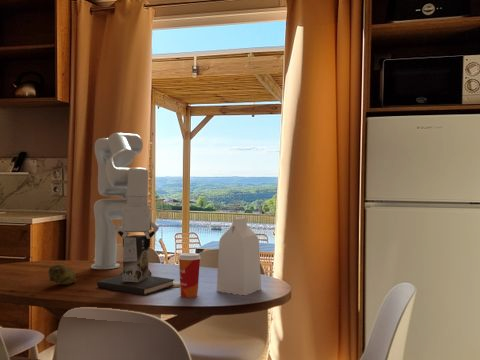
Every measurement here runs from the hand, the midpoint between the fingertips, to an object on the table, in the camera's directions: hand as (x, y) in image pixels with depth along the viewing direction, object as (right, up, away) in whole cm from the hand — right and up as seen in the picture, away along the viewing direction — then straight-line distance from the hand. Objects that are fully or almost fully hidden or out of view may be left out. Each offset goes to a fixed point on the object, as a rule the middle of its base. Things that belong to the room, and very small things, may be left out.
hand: (136, 248), depth 156 cm
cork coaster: (+14, -14, +3) cm, 20 cm away
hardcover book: (0, -14, -1) cm, 14 cm away
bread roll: (-5, -15, +18) cm, 24 cm away
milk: (+38, -15, -4) cm, 41 cm away
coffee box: (0, -11, 0) cm, 11 cm away
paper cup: (+21, -14, -13) cm, 28 cm away
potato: (-28, -14, +2) cm, 32 cm away
